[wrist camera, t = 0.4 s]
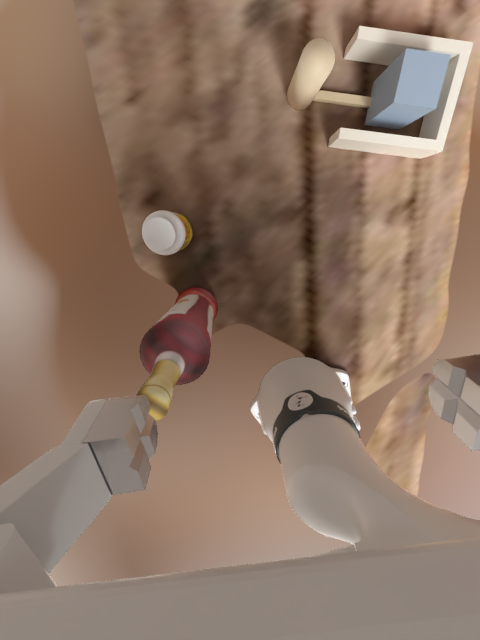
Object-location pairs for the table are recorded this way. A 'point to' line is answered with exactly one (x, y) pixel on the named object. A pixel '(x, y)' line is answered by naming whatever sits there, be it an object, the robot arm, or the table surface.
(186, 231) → the supplement bottle
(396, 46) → the white u-shaped wall
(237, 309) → the table surface
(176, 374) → the liquor
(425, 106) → the block
